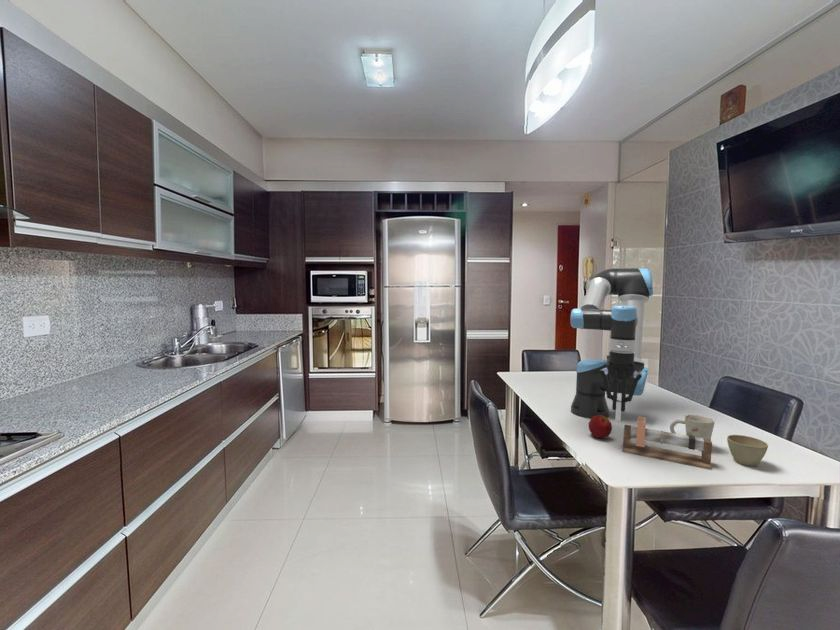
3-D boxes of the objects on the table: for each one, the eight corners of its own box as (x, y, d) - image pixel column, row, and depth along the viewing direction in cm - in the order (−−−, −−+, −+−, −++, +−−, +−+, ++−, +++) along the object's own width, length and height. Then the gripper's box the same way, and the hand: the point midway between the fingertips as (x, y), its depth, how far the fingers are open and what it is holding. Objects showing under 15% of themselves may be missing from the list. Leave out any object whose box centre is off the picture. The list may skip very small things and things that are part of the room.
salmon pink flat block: (635, 445, 131) (637, 421, 130) (636, 439, 136) (637, 416, 136) (644, 447, 130) (645, 423, 129) (644, 440, 135) (646, 417, 135)
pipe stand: (622, 451, 132) (623, 429, 132) (623, 443, 139) (625, 422, 139) (711, 469, 120) (713, 444, 120) (708, 459, 127) (709, 436, 127)
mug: (713, 453, 132) (715, 424, 131) (668, 445, 138) (670, 417, 138) (711, 445, 139) (713, 417, 138) (668, 437, 145) (670, 411, 145)
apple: (588, 439, 143) (589, 417, 142) (588, 432, 150) (589, 411, 149) (612, 443, 140) (613, 420, 139) (610, 435, 147) (611, 413, 147)
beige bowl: (717, 456, 130) (719, 434, 130) (745, 455, 131) (747, 434, 130) (744, 470, 120) (746, 447, 120) (775, 469, 121) (777, 446, 120)
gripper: (599, 351, 134) (595, 419, 136) (643, 355, 128) (639, 426, 129) (601, 348, 141) (598, 413, 142) (644, 352, 134) (640, 420, 136)
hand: (618, 419), depth 136 cm, fingers closed
